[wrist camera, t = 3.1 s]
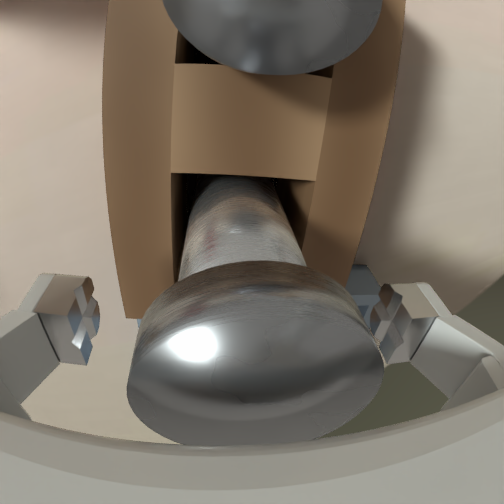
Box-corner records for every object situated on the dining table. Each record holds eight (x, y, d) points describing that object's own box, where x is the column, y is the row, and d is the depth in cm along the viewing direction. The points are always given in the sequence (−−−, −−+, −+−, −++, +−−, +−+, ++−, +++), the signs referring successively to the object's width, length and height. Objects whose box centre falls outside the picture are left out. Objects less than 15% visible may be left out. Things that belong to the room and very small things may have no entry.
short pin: (305, -13, 11) (386, -74, 4) (294, 78, 13) (371, 93, 6) (198, -23, 10) (176, -107, 3) (188, 70, 13) (149, 70, 6)
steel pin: (286, 136, 15) (426, 311, 5) (274, 225, 18) (339, 443, 7) (184, 130, 14) (97, 311, 4) (183, 221, 17) (149, 449, 7)
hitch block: (346, -27, 10) (407, -61, 5) (304, 249, 19) (333, 321, 14) (160, -46, 9) (129, -98, 4) (149, 244, 17) (125, 317, 12)
